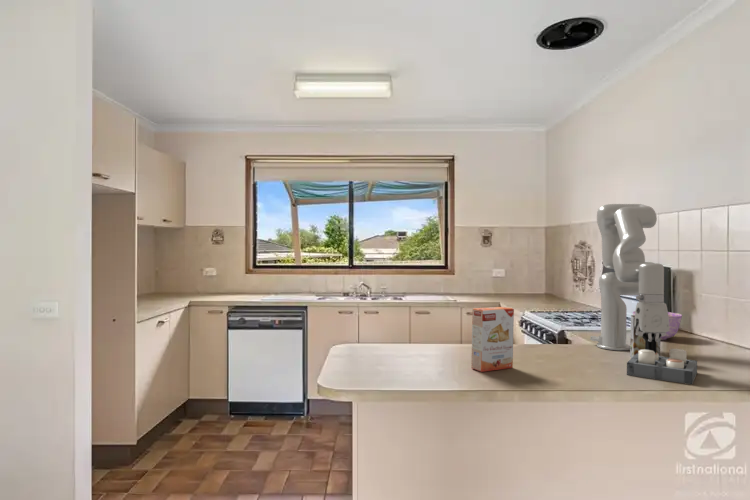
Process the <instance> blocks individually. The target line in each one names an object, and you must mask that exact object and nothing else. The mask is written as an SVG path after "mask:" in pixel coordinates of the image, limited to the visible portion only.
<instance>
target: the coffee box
mask: <svg viewBox="0 0 750 500" xmlns="http://www.w3.org/2000/svg"><path fill="white" fill-rule="evenodd" d="M634 320H635V315H633V314H631V315H630V344H629V346H630V350H629V357H630V359H631V358H632V357H634V356H635V355H636V354H638V351H639V350H641V349H645V340H644V339H643V337H642V336H639V335H636V334H635V333H636V330H635V326H634ZM642 333H643V332H642ZM661 341H662V340H661V337H660V338H659V340H658V341H657V342H656V352H657V353H658V354H659V356H661Z"/></svg>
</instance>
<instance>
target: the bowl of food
mask: <svg viewBox="0 0 750 500" xmlns="http://www.w3.org/2000/svg"><path fill="white" fill-rule="evenodd" d="M632 315H635V310H634V311H632ZM668 316H669V331H668V332H666V335H664V336H661V340H660V341H664V340H665V341H666V340H668V339H669V338H672V337H674V336H675V335H677V334H678V331H679V329H680V325H681V323H682V322H681V320H682V317H683V314H681V313H678V312H670V311H668Z"/></svg>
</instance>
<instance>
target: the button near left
mask: <svg viewBox="0 0 750 500" xmlns="http://www.w3.org/2000/svg"><path fill="white" fill-rule="evenodd" d="M638 363H642V364H650V365H655V352H654V351H652V350H646V349H641V350H639V351H638Z"/></svg>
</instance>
